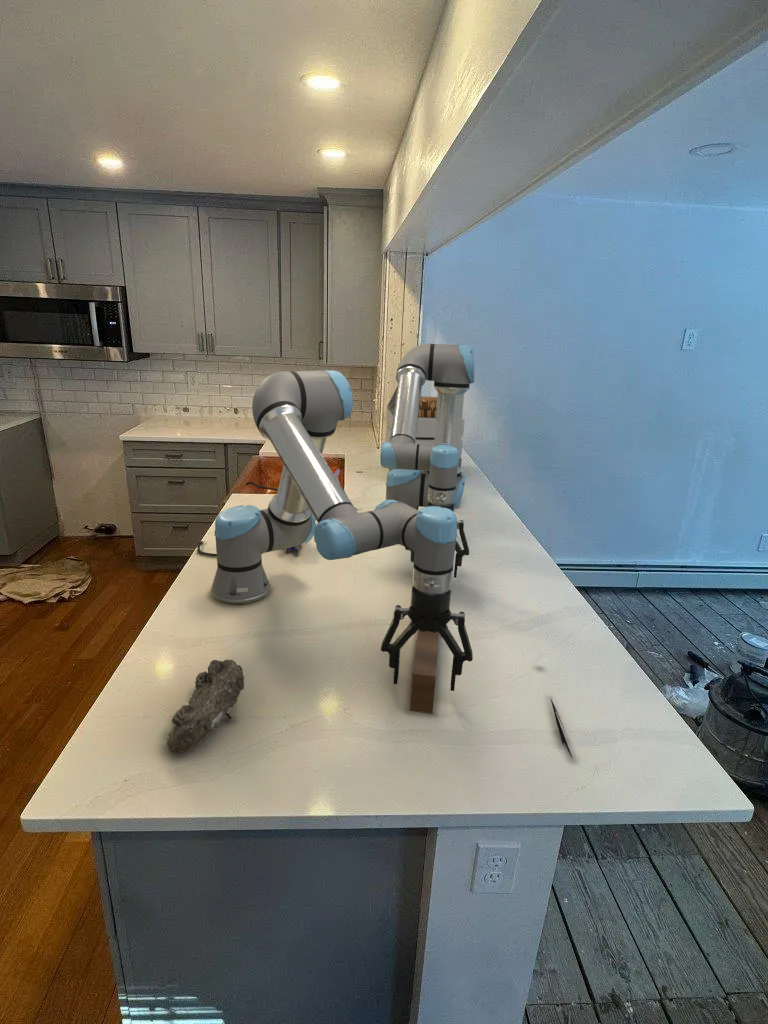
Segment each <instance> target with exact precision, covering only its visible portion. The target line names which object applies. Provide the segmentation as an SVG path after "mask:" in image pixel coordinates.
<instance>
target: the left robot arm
mask: <svg viewBox="0 0 768 1024" xmlns="http://www.w3.org/2000/svg"><path fill="white" fill-rule="evenodd" d="M251 403H252V405H251V410H252V418H253V421H254V424H255V426H256V428H257V430H258V432H259V433H260V435H261V436H262V437H263V438H264V439H266V440H268V441H270V443H271V444H272V446H273V448H274V449H275V452H276V453H277V455H278V457H279V458H280V460H281V462H282V464H283V467H282V471H281V474H280V478H279V482H278V483H279V484H278V488H277V489H278V491H276V492H277V493H275V494H274V495H273V496H272V497H271V498H270V499H269V501H268V505H267V506H268V507H267V508H264V509H259V508H258V507H257V506H255V505H249V504H247V505H236V506H233V507H229V508H227V509H224V510H222V511H221V512H220V513H218V515H217V516H216V518H215V520H214V521H215V522H214V537H215V549H216V553H212V552H204V551H202V550H201V546H202V545H203V544H204V541H203V540H200V541H198V543H197V545H196V552H198V553H199V554H200V555H203V556H207V557H216V561H217V562H216V565H217V567H216V571H215V575H214V577H213V582H212V584H211V596H212V598H213V599H214V600H216V601H217V602H219V603H222V604H225V605H233V606H240V605H247V604H253V603H256V602H258V601H261V600H263V599H264V598H266V597H267V596H268V595H269V594H270V581H269V579H268V576H267V574H266V571H265V568H264V566H263V559H262V556H263V554H266V553H270V552H275V551H280V550H286V549H287V548H290V547H295V546H299V545H301V546H302V545H305V544H307V543H308V542H311V540H312V539H314V540H313V541H314V543H315V548H316V550H317V552H318V553H319V555H320V556H321V557H322V558H323V559H324V560H327V561H334V560H341V559H342V560H343V559H349V558H352V557H353V556H357V555H360V554H364V553H367V552H372V551H377V550H380V549H384V548H389V547H394V546H396V545H399V546H402V547H404V548H405V547H406V548H408V549H410V550H412V551H414V562H413V566H412V582H411V584H412V587H411V594H410V595H411V596H410V605H409V607H408V608H406V607H402V606H401V605H399V604H396V605H395V607H394V611H393V618H392V621H391V623H390V624H389V627H388V629H387V631H386V632H385V635H384V638H383V639H382V641H381V646H380V651H381V652H382V653H385V652H386V653H388V655H389V656H388V657H389V658H388V667H389V669H390V668H391V669H393V682H392V683H393V685H398V682H399V681H398V680H399V673H400V657H401V649H402V647H403V646H404V645H405V644H406V643H407V642H408V641H409V640H410V639H411V637H413V636H414V635H415V634H416V633H418V629H419V630H420V631H422V632H426V631H429V632H432V633H436V632H439V637H441V638H442V639H443V640H444V642H445V644H446V646H447V648H448V649H449V651H450V652H451V654H452V655H453V656H452V666H451V676H450V688H449V689H450V690H449V691H451V692H455V688H456V687H455V686H456V678H457V676H461V675H462V674H463V665H464V662H466V661H467V662H472V661H473V657H474V656H473V649H472V644H471V641H470V638H469V633H468V631H467V628H466V624H465V623H466V615H465V614H466V613H465V612H464V611H463V610H462V611H459V612H458V613H457V612H452V611H451V608H450V607H451V597H452V590H451V589H452V587H453V578H454V564H455V555H456V550H455V545H456V540H457V539H458V529H457V521H458V517H457V515H456V512H455V511H454V512H453V511H452V510H450V509H447V508H441V507H438V506H429V507H421V508H419V509H418V510H416V509H414V508H412V507H410V506H408V505H407V504H405V503H402V502H398V501H395V500H386V499H385V500H383V501H382V502H380V503H379V504H377V505H376V506H375V508H374V509H373V510H369V511H368V510H367V511H364V512H358V510H357V509H356V507H355V506H354V504H353V503H352V501H351V499H350V498H349V497H348V495H347V493H346V491H345V489H344V488H343V486H342V485H341V483H340V484H339V482H340V481H339V482H338V480H339V479H338V480H337V479H336V477H335V476H334V472H333V470H332V469H331V468H330V466H329V464H328V462H327V461H326V460H325V458H324V456H323V451H324V449H325V445H326V442H327V438H329V437H331V436H332V435H334V434H335V432H336V429H337V427H338V423H339V421H345V420H346V419H349V418H350V416H351V414H352V412H353V406H354V397H353V393H352V389H351V385H350V383H349V381H348V380H347V378H346V377H345V376H344V375H343V374H342V372H340V371H338V370H331V369H330V370H329V369H328V370H327V369H320V370H293V371H289V370H281V371H277V372H273V373H271V374H270V375H268V376H266V377H265V378H264V379H263V380H262V381H261V382H260V383H259V384H258V386H257V388H256V389H255V392H254V394H253V399H252V402H251ZM343 489H344V490H343ZM344 491H345V492H344ZM316 522H317V523H316ZM197 548H198V549H197ZM285 548H286V549H285ZM410 550H409V551H410ZM406 616H408V618H409V619H410V620H411V621H410V622H409V623H408V625H407V626H406V628H404V630H403V631H402V632H401V633H400V634H399V635H398V636H397V638H395V640H394V641H393V642H392V640H393V638H394V636H395V634H396V631H397V629H398V627H399V625H400V622H401V621H402V620H404V619H405V617H406ZM451 620H452V621H453V624H454V625H455V626H457V632H458V635H459V638H460V642H461V645H462V647H463V650H462V649H461V647H460V646H459V644H458V642H457V641H456V639H455V638H454V636H453V634H452V632H451V631H450V629H449V627H448V625H447V624H448V623H449V622H451Z"/></svg>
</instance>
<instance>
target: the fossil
mask: <svg viewBox="0 0 768 1024" xmlns="http://www.w3.org/2000/svg"><path fill="white" fill-rule="evenodd" d="M243 670H244V669H243V667H242V665H240V664H237V662H236V661H235V660H234V659H232V658H231V659H227V658H226V659H224V660H223V661H222V660H217V659H212V660H211V661H210V663H209V665H208V666H207V671H201V672H199V673H198V674H197V675H196V676H195V680H194V684H195V685H194V687H195V689H194V690H193V693H192V694H191V697H190V698H189V700H188V704H184V705H182V706H181V707H180V709H177V710H176V711H175V713H174V715H173V716H172V718H171V723H172V724H173V727H172V730H171V731H170V732H168V734H167V738H166V741H167V742H166V745H167V749H168V750H169V751H173V752H174V753H176V754H178V753H182V752H188V751H189V752H192V751H193V750H195V748H196V747H197V746H199V744H200V743H201V742H203V741H204V740H205V739H206V738H207V737H208V736H209V735H210V734H211V733H212V732H214V730H215V729H217V727H218V726H219V724H220V722H221V721H222V720H223V719H224V718H225V716H226V717H227V719H229V720H233V717H232V715H230V714H229V710H230V709H231V708H234V706H235V704H236V703H237V702H238V699H239V697H240V695H241V693H242V691H243V690H245V689H244V688H245V675H244V671H243Z"/></svg>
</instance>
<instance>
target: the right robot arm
mask: <svg viewBox="0 0 768 1024" xmlns="http://www.w3.org/2000/svg"><path fill="white" fill-rule="evenodd" d="M395 381H396V383H397V386H398V387H397V386H396V388H397V394H396V401H395V408H394V415H393V422H392V429H391V435H390V442H386V441H383V442H382V443H381V446H380V456H379V462H380V466H381V467H383V468H385V469H386V468H387V469H390V468H392V469H393V470H391V471H390V470H389V471H388V473H387V475H386V482H385V487H386V488H385V489H386V490H385V500H395V501H398V502H402V503H405V504H407V505H408V506H410V507H412V508H414V509H416V510H418V511H419V509H420V507H421V508H424V507H429V506H438V507H441V508H447V509H450V510H452V511H453V512H454V513H455V509H458V508H459V507H460V505H461V502H462V499H463V494H464V490H465V484H466V476H465V475H463V474H462V472H463V470H462V468H461V469H460V468H459V467H458V463H459V446H460V439H461V438H460V435H461V423H462V419H463V410H464V402H465V401H464V399H465V393H466V392H468V391H469V389H470V384H474V383H475V355H474V349H473V348H472V347H471V346H469V345H463V344H443V343H429V342H428V343H427V342H426V343H421V344H418V345H416V346H413V348H411V349H410V350H409V351H407V353H405V355H404V356H403V357H402V358H401V360H400V361H399V364H398V366H397V368H396V374H395ZM427 381H428V382H429V381H430V382H433V388H434V389H435V391H436V392H437V397H438V398H437V411H436V425H435V438H434V445H421V444H415V440H416V431H417V423H418V414H419V405H420V397H422V388H423V386H424V385H425V383H426V382H427ZM249 485H253V486H254V487H256V488H259V489H264V490H268V491H269V490H270V491H276V492H278V488H275V487H269V486H263V485H259V484H256V483H255V482H253V481H248V482H246V483H245V486H249ZM464 526H465V521H464V520H463V519H461V520H457V530H458V533H459V537H460V540H461V543H462V547H461V546H460V544H459V542H458V541H457V539H456V545H455V555H454V566H453V578H454V579H457V577H458V576H457V574H458V567H460V568H461V567H462V565H463V557H465V556H469V555H470V547H469V545H468V540H467V536H466V532H465V529H464V528H465V527H464ZM404 549H405V550H406V551H409V552H410V563H414V551H412V550H410V549H408V548H406V547H404Z"/></svg>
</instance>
